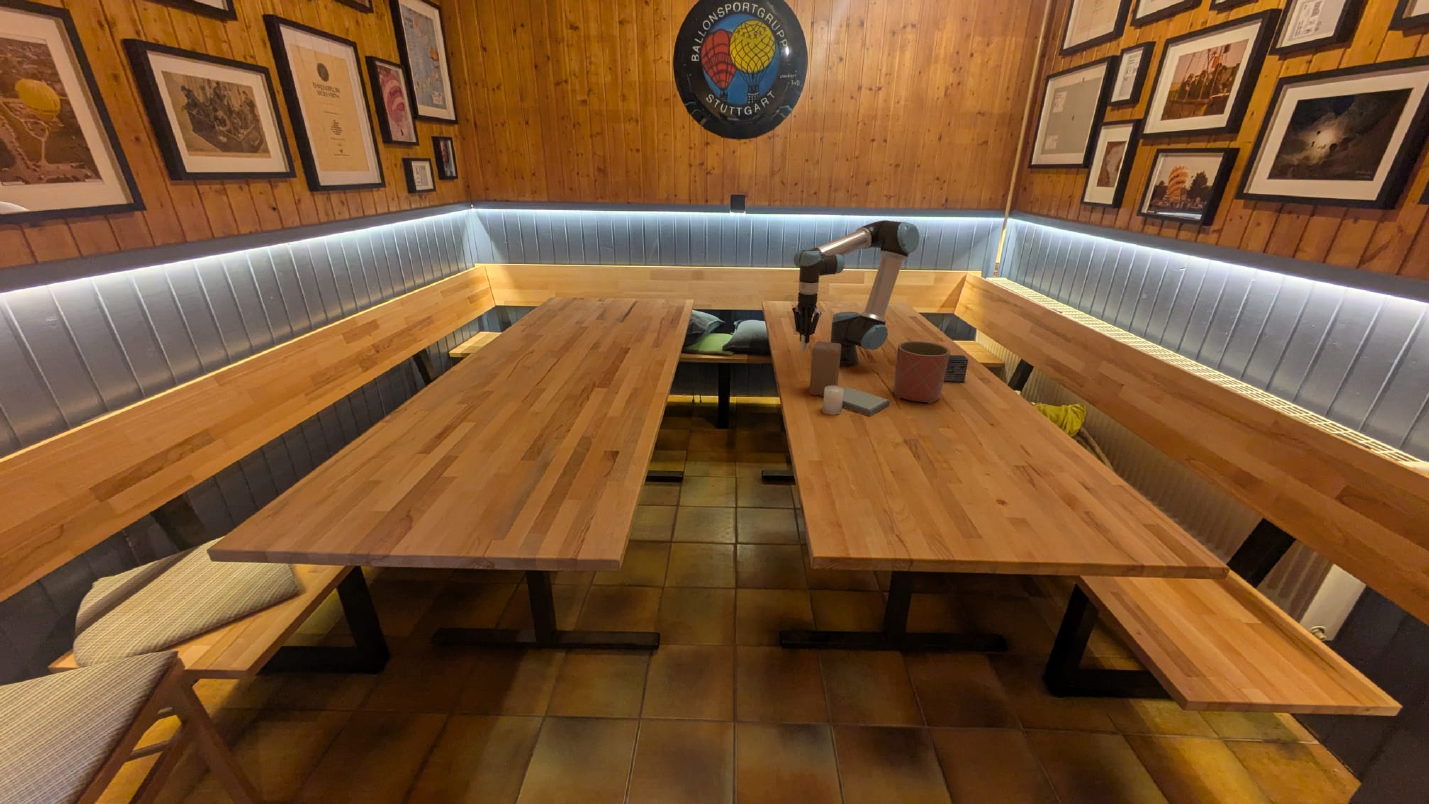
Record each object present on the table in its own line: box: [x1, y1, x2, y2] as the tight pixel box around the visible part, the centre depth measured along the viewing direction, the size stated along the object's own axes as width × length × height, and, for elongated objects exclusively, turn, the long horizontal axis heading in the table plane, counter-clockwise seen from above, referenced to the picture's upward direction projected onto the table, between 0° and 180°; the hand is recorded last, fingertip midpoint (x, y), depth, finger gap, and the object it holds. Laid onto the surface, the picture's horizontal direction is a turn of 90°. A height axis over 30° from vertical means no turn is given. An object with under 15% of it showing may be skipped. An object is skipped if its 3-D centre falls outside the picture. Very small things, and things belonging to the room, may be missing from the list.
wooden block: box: [808, 340, 841, 397], centre depth 221 cm, size 10×10×20 cm
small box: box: [943, 354, 969, 384], centre depth 236 cm, size 11×6×10 cm, turn 84°
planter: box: [892, 340, 951, 405], centre depth 218 cm, size 19×19×20 cm
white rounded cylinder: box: [822, 385, 845, 415], centre depth 206 cm, size 7×7×9 cm
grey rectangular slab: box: [842, 386, 891, 417], centre depth 214 cm, size 19×14×2 cm
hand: (803, 350), depth 226 cm, fingers closed
